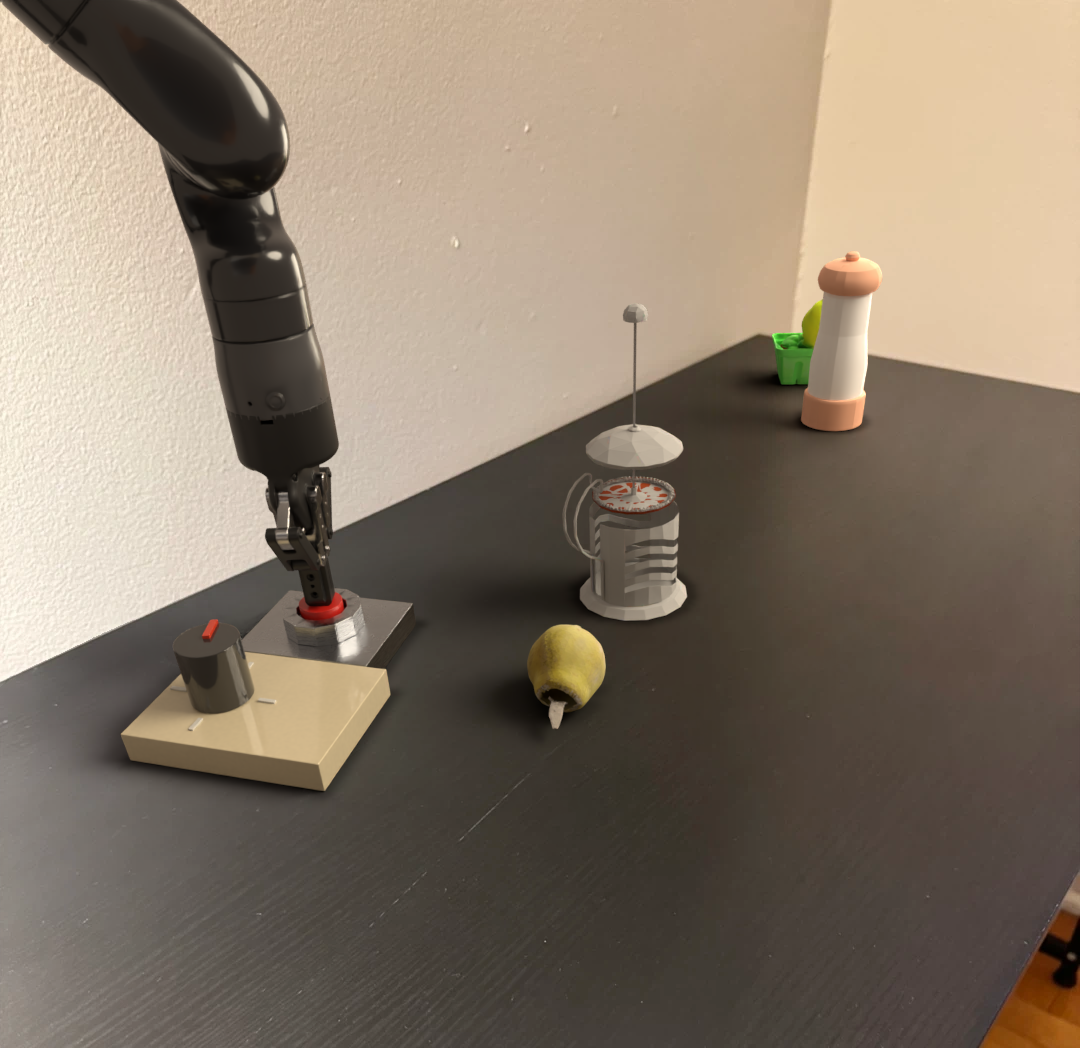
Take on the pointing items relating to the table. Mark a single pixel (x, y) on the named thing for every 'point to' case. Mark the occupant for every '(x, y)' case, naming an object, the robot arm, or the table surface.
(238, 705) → the knob
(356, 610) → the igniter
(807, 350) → the fruit basket
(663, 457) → the french press
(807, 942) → the table surface
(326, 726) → the panel
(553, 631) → the fruit
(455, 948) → the table surface
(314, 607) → the button
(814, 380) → the salt shaker
